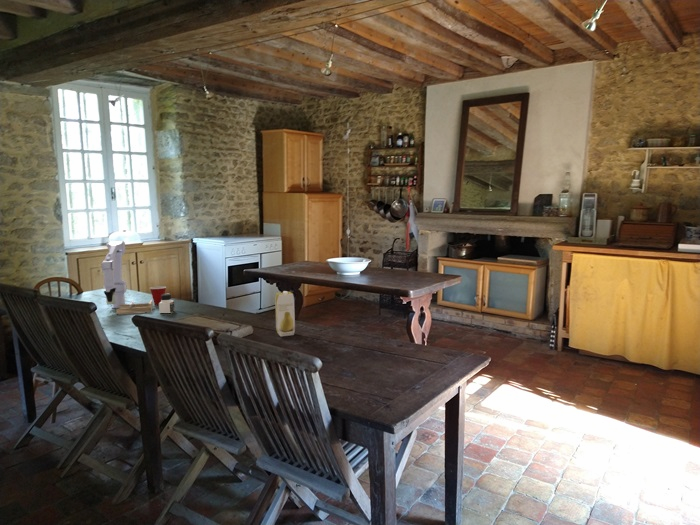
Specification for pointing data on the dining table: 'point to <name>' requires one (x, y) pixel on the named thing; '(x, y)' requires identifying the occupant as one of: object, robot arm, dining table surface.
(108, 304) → the jar
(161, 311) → the medicine bottle
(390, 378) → the dining table surface
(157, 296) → the plastic cup
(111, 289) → the robot arm
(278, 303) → the juice carton
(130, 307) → the pusher
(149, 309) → the wooden crate
